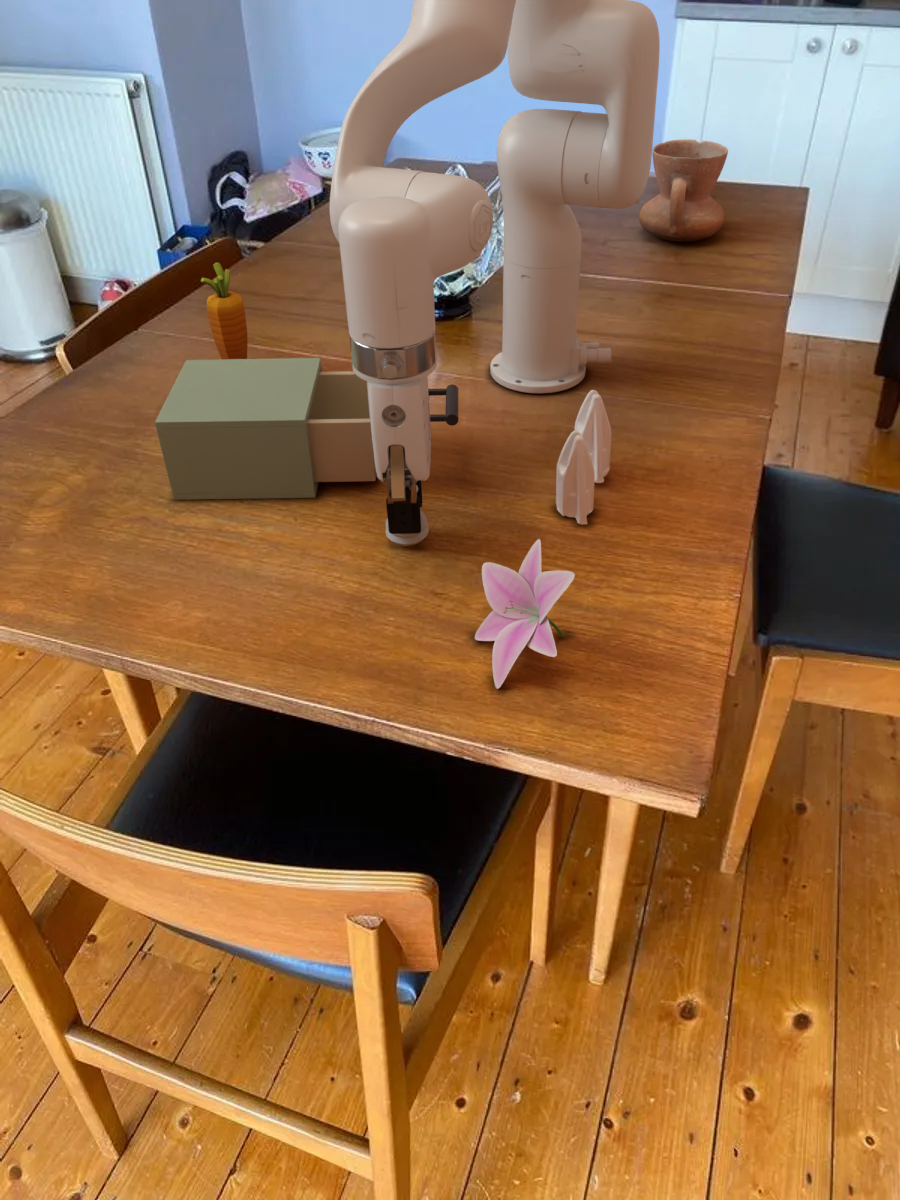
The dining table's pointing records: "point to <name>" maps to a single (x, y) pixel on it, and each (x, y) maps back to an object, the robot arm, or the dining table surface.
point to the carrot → (227, 317)
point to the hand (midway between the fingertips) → (406, 517)
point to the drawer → (351, 427)
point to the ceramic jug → (685, 191)
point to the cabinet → (240, 429)
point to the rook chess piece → (409, 538)
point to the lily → (520, 610)
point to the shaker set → (584, 460)
